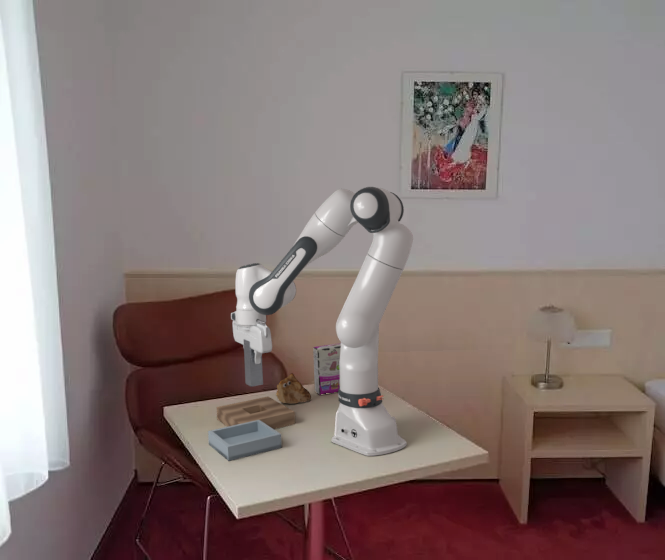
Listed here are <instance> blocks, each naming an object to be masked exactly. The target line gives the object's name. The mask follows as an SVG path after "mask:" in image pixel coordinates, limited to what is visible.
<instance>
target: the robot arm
mask: <svg viewBox="0 0 665 560" xmlns="http://www.w3.org/2000/svg"><path fill="white" fill-rule="evenodd" d="M404 211H405V209H404V204H403V201H402V200H401V198H400V197H399V196H398V195H397V194H395V193H394V192H391V191H389V190H388V189H385V188H381V187H374V186H367V187H363V188H360V189H359V190H357V191H356V192H353V191H352V190H350V189H346V188H339V189H336V190H335V191H334V192H333V193H332V194H330V195H329V196H328V197H327V198H326V199H325V200H324V201H323V202H322V204H320V205H319V207H318V208H317V209H316V210H315V212H314V213H313V214H312V216H311V217H310V219H309V220H308V221H307V222H306V224H305V226H304V228H303V229H302V231H301V232H300V234H299V236H298V237H297V239H296V240H295V242H294V244H293V245H292V247H291V248H290V250H288V252H287V253H286V254H285V256H284V257H283V258H282V259H281V260H280V262H279V263H278V264H277V265H276V266H275V268H273V270H272V269H271V270H270V269H268V268H266V267H265V266H264V265H263V264H262V263H259V262H256V263H250V264H249V263H248V264H246V265H241V266H240V267H238V268H237V270H236V273H235V285H234V286H235V291H234V292H235V297H236V306H235V308H236V310H235V311H234V312H231V313H230V320H232V333H233V334H232V335H233V339H234V342H236V343H238V344H241V345H242V346H243V347H242V348H244V339H245V340H247V341H250V348H251V349H253V350H254V353H255V357H254V358H253V360H254V363H256V364H260V363H261V356H262V357H263V354H265V353H266V354H267V353H271V352H272V350H273V341H272V340H273V338H272V334H271V333H272V332H271V329H270V327H269V326H267V316H270V315H271V316H272V315H273V314H275V313H276V312H278V311H279V310H280V309H282V308H283V307H286V306H287V305H288V304H290V303H291V302H292V301H293V300H294V299H295V297H296V295H297V286H296V283H295V280H296V279H297V277H298V276H299V275H300V274H301V272H303V270H304V269H305V268H306V267H307V266H309V264H311V263H313V262H314V261H315V260H317V259H319V258H320V257H323V256H324V255H327V254H328V253H330V252H331V251H332V250H334V249H335V248H336V247H337V246H338V245H339V244H340V243H341V242H342V241H343V240H344V238H345V237H346V236H347V234H348V233H349V232H350V231H351V229H352V228H353V227H354V226H355V225H357V224H360V225H361V226H362V227H363V228H364V229H365V230H366V231H367V232H368V233H369V234H372V235H373V236H372V242H371V245H370V246H369V249H368V251H367V253H366V256H365V257H364V260H363V263H362V265H361V267H360V269H359V271H358V273H357V276H356V278H355V280H354V281H353V285H352V287H351V289H350V291H349V294H348V295H347V298H346V300H345V301H344V304H343V306H342V308H341V310H340V313H339V315H338V317H337V320H336V323H335V332H336V336H337V339H339V341H340V343H341V349H340V361H339V368H340V388H339V390H338V392H337V398H338V399H337V400H338V402H339V405H338V407H337V411H336V413H335V419H334V421H335V422H334V423H335V424H334V434H333V436H332V437H331V442H332V443H333V444H335V445H338V446H341V447H343V448H346V449H348V450H351V451H353V452H356V453H359V454H361V455H364V456H367V457H368V456H369V457H373V456H382V455H386V454H387V455H388V454H391V453H394V452H397V451H400V450H401V449H404V448H405V447H407V445H408V444H407V441H406V440H405V439H404V438H403V437H401V436H400V435H399V433H398V432H399V431H398V425H397V420H396V417H395V416H392V415H391V414H390V413H389V411H388V410H387V408H386V407H385V405H384V404H383V400H384V396H385V395H382V392H381V389H380V387H379V346H380V345H379V341H380V340H379V338H380V337H379V336H380V335H379V334H380V323H381V321H382V318H383V317H384V314H385V312H386V311H387V307H388V306H389V302H391V301H390V300H391V298H392V296H393V293H394V291H395V289H396V288H397V284H398V283H399V281H400V278H401V276H402V274H403V273H404V269H405V267H406V265H407V262H408V259H409V257H410V253H411V250H412V246H413V242H414V235H413V233H412V230H411V229H409V227H407V226H406V225H404V224H403V223H401V221H402V219H403V216H404Z"/></svg>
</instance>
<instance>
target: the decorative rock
mask: <svg viewBox="0 0 665 560" xmlns="http://www.w3.org/2000/svg"><path fill="white" fill-rule="evenodd" d="M276 389H277V391H276V393H275V395H276V397H277V399H278V402H279V403H281V404H286V405H287V404H291V405H292V404H298V403H307V402H308V401H309V402H310V401H311V400H312V394H311V392H310V391H309V390H308V389H307V388H305V387H304V386H303V384H302V383H301V382H300V380H299V379H297V377H296V376H295V374H294V373H293V372H291V373H290V374H289V375H288V376H287V377H284V379H281V380H280V381H279V382H278V384H276Z"/></svg>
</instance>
